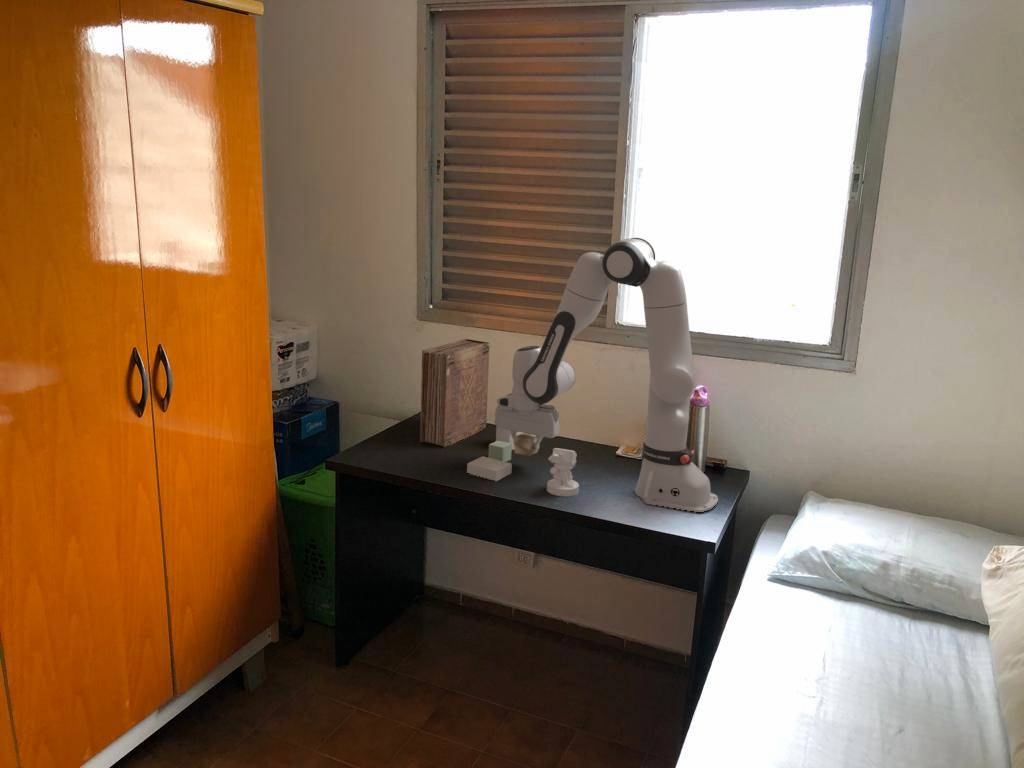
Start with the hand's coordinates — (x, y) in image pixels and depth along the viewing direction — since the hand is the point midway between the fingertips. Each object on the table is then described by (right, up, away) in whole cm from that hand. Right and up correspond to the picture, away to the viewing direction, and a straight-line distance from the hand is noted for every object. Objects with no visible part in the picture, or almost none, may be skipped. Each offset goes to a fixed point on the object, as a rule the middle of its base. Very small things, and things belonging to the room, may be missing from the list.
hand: (526, 446), depth 238 cm
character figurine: (+10, -11, -14) cm, 20 cm away
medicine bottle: (-5, -2, +20) cm, 21 cm away
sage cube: (-8, -5, +8) cm, 12 cm away
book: (-23, +1, +28) cm, 36 cm away
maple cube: (0, -2, 0) cm, 2 cm away
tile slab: (-11, -7, -4) cm, 14 cm away
